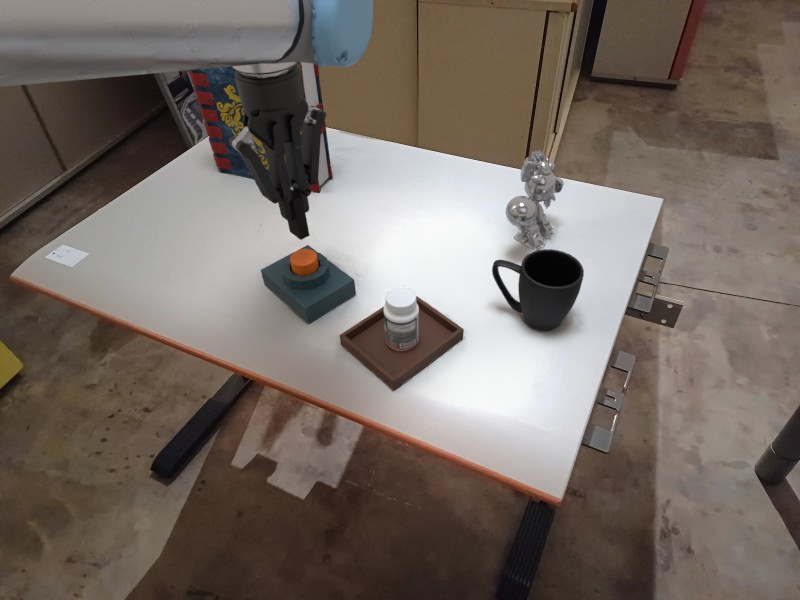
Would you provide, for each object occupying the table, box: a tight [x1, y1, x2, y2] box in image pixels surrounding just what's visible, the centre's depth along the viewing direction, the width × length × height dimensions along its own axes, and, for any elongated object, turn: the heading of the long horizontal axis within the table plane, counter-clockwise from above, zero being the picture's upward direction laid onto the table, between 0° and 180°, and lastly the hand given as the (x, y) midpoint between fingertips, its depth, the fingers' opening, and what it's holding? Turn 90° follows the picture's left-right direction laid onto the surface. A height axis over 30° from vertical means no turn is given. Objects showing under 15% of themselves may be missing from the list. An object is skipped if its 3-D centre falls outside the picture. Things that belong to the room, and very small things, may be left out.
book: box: [188, 62, 333, 194], centre depth 103 cm, size 25×7×25 cm, turn 67°
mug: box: [491, 248, 585, 332], centre depth 77 cm, size 8×12×10 cm
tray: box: [338, 295, 465, 392], centre depth 77 cm, size 13×11×2 cm
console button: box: [290, 248, 319, 276], centre depth 82 cm, size 4×4×2 cm
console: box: [260, 244, 357, 325], centre depth 84 cm, size 12×9×5 cm
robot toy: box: [505, 149, 565, 251], centre depth 88 cm, size 15×6×15 cm, turn 144°
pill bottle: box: [383, 286, 419, 351], centre depth 74 cm, size 5×5×8 cm
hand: (299, 233), depth 79 cm, fingers closed
